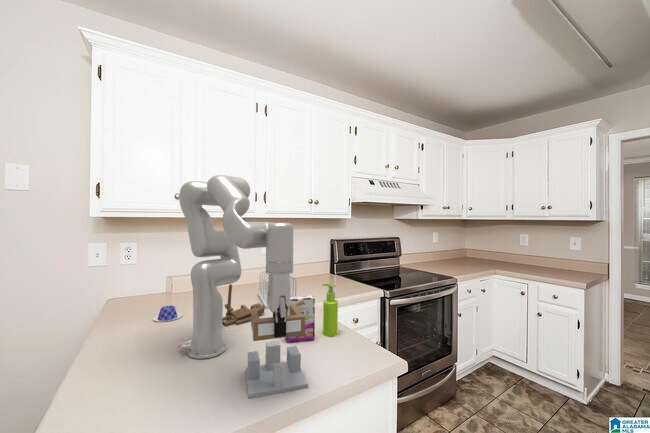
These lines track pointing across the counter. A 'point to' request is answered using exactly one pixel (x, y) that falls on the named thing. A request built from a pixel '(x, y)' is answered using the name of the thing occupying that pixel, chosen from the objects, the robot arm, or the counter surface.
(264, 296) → the file sorter
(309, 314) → the candy bar box
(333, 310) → the soap dispenser
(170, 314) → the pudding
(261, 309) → the wooden figure
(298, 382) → the grey post plate
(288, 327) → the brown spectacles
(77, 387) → the counter surface
